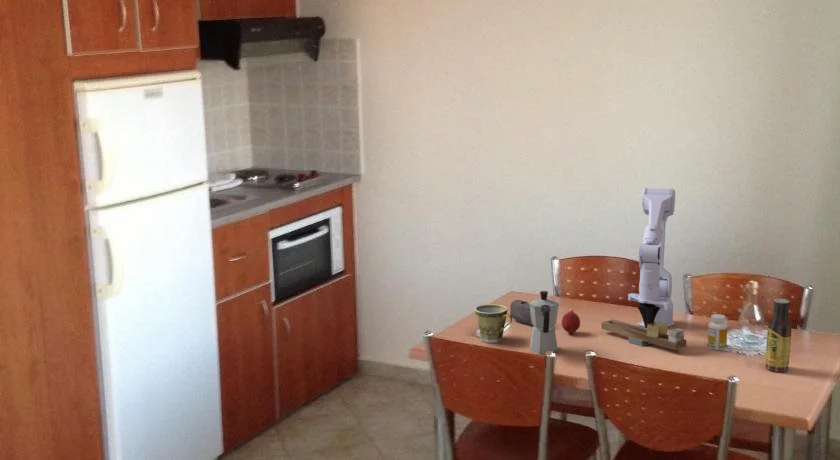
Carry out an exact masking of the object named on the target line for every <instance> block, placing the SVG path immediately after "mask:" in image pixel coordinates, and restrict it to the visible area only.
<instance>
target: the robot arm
mask: <svg viewBox="0 0 840 460" xmlns="http://www.w3.org/2000/svg"><path fill="white" fill-rule="evenodd" d="M641 195H642V196H641V206H642V211H643V212H644V215H647V216H648V225H646V226H645V227H644V228H643V235H642V241H641V245H639V249H638V264H639V270H640V271H639V285H638V293H634V292H632V293H631V292H630V293H628V295H627V301H633V302H638V303H640V304H638V305H637V309H638V311H639V313H640V315H641V318H642V321H640V322H637V323H636V326H639V327H642V328H645V329H647V324H649V323H652V322H655V321H658V322H662V323H666V324H668V325H667V328H668V327H671V326H674V325H675V324H676V323H675V322H674V303H673V301H672V299H671V297H672V293H673V291H672V290H673V282H672V281H673V279H672V278H673V277H672V273H670V272H669V271H668V270H667V269H665V267H664V264H665V263H664V262H665V243H666V224H667V221H668V217H671V216H673V215H674V212H675V206H676V190H675V189H674V188H649V187H648V188H647V187H644V188H643V189H642V194H641Z"/></svg>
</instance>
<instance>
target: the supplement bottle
mask: <svg viewBox="0 0 840 460" xmlns="http://www.w3.org/2000/svg"><path fill="white" fill-rule="evenodd" d="M707 328H708V329H707V331H708V332H707V348H709V349H711V350H714V351H723V349H724V350H726V349H727V346H728V344H727V343H728V324H727V322H726V316H725V315H723V314H719V313H718V314H716V313H715V314H711V316H710V322H708V327H707Z"/></svg>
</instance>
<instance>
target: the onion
mask: <svg viewBox="0 0 840 460" xmlns="http://www.w3.org/2000/svg"><path fill="white" fill-rule="evenodd" d="M568 310H569V311H568V312H566V313H565V314H564V315H563V316H562V318H561V327H562V329H563V330H564V331H565V332H566V333H568V334H569V335H573V334H574V333H575V332H577V331H578V330H579V328H580V327H581V319H580V317H579V315H578V314H577V313H575V312H574V310H573V309H572V308H571V309H568Z"/></svg>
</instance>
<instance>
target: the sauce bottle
mask: <svg viewBox="0 0 840 460" xmlns="http://www.w3.org/2000/svg"><path fill="white" fill-rule="evenodd" d="M790 304H791V303H790V300H788V299H787V298H775V299H774V300H773V313H772V316H771V319H770V322H769V324H768V326H767V331H766V332H767V333H766V345H765V357H764V359H765V360H764V364H765V369H766V370H769V371H771V372H773V373H776V372H777V373H784V372H786V371H788V370H789V366H790V359H791V358H790V357H791V356H790V355H791V354H790V353H791V346H792V345H791V344H792V327H793V326H792V323H791V321H790V320H789V307H790V306H791V305H790Z"/></svg>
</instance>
